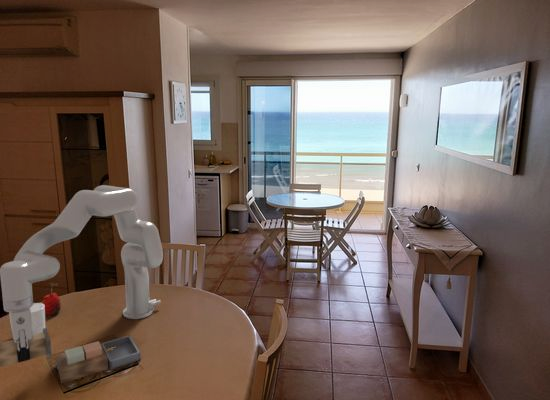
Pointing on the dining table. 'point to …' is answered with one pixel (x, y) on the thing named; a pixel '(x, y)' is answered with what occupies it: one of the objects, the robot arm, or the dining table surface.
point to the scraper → (38, 347)
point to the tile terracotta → (92, 350)
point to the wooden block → (80, 366)
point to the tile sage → (74, 355)
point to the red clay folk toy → (51, 303)
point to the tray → (121, 352)
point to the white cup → (37, 317)
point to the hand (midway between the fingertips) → (23, 356)
